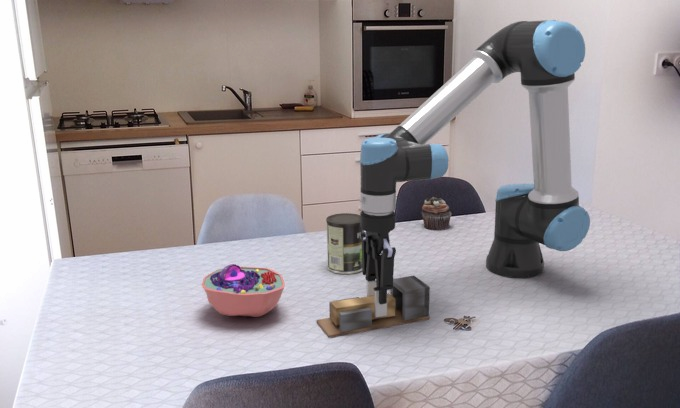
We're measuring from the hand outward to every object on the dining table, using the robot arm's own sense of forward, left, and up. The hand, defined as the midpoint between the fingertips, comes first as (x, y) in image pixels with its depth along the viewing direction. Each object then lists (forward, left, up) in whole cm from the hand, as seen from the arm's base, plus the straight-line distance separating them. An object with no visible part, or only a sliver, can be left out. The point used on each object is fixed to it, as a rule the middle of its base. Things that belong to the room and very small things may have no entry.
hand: (376, 311), depth 143 cm
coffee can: (-6, -33, -2) cm, 34 cm away
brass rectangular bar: (+3, 0, -1) cm, 3 cm away
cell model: (+26, -15, -2) cm, 30 cm away
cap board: (+1, 0, -2) cm, 2 cm away
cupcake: (-47, -56, -2) cm, 73 cm away
